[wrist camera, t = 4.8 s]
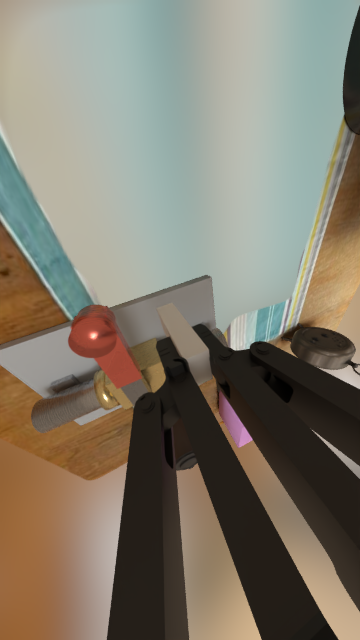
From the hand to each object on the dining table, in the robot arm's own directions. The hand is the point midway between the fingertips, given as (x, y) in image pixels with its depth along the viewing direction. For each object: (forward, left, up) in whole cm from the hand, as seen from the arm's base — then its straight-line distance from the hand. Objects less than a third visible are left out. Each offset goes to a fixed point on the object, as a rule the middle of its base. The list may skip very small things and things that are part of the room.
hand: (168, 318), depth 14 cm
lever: (+5, -6, -3) cm, 8 cm away
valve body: (+11, -6, -9) cm, 16 cm away
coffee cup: (+40, -5, -10) cm, 42 cm away
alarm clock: (+24, +33, -10) cm, 43 cm away
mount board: (+11, -6, -10) cm, 16 cm away
